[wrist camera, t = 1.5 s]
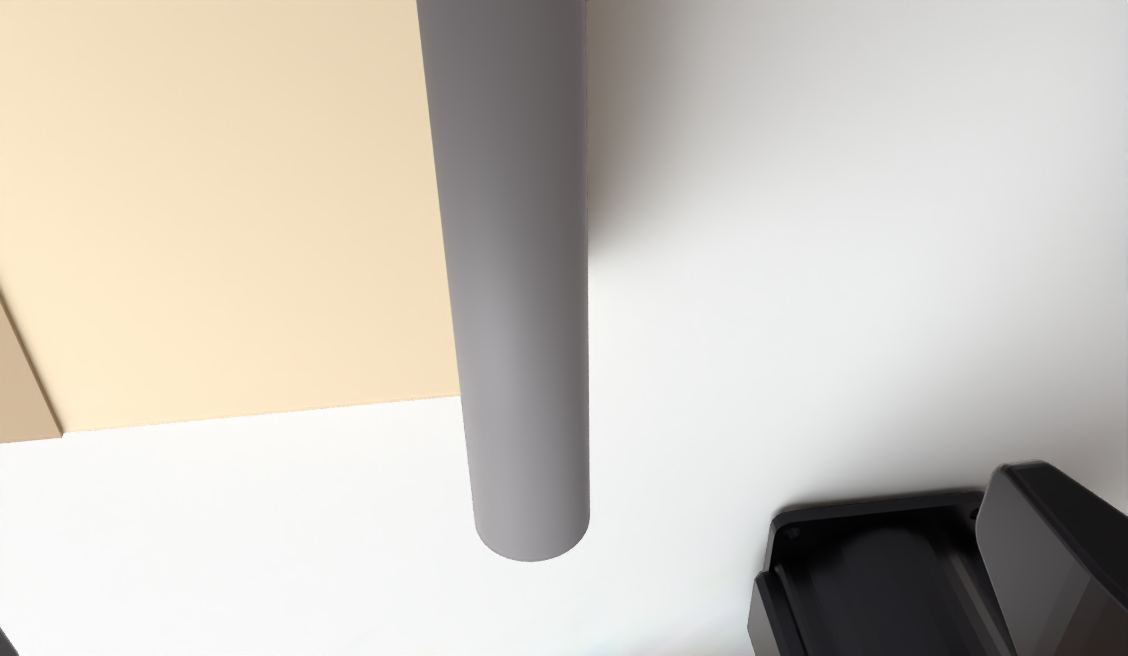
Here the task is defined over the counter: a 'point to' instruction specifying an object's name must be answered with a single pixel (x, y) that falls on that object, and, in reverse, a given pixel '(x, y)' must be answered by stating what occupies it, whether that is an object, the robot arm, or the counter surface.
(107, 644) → the counter surface
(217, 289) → the flap
